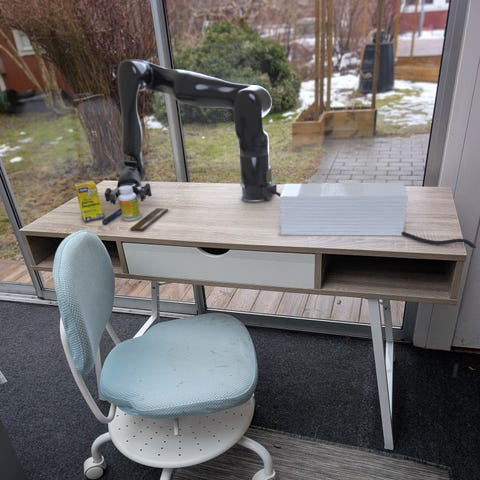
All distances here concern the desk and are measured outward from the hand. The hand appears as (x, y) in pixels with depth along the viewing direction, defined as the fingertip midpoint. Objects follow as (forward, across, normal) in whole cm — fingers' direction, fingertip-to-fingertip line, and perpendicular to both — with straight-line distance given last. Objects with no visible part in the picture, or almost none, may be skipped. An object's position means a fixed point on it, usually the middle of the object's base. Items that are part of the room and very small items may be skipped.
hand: (127, 199), depth 144 cm
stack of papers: (+26, +58, +7) cm, 64 cm away
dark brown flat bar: (+2, +6, +7) cm, 9 cm away
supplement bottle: (-2, 0, +7) cm, 7 cm away
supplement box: (-6, -12, +7) cm, 16 cm away
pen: (-5, -5, +6) cm, 9 cm away
